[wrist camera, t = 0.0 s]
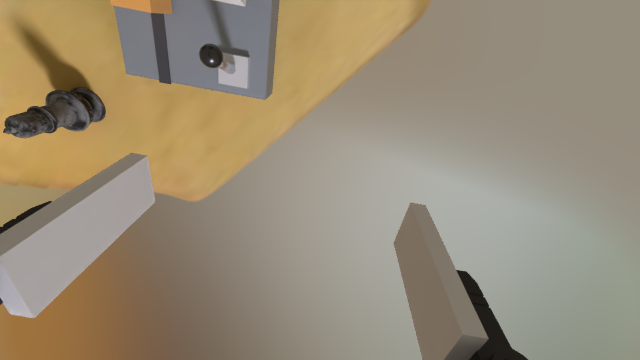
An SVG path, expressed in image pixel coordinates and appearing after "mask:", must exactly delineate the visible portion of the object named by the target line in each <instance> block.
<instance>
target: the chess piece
mask: <svg viewBox="0 0 640 360" xmlns="http://www.w3.org/2000/svg"><path fill="white" fill-rule="evenodd" d="M105 113H106V111H105V106H104V104H103V102H102V101H101V99H100V98H99V97H98V96H97V95H96V94H95V93H94V92H92V91H90V90H89V89H86V88H81V87H78V88H74V89H73V90H72V91H71V92H67V91H62V90H55V91H52V92H50V93H49V94H48V95H47V97H46V106H42V107H38V106H32V107H30V108H28V110H27V112H23V113H20V114H16V115H13V116H9V117H8V118H6V120H5V127H6V128H5V129H4V131H3V133H7V134H10V133H11V134H13V135H14V136H16V137H19V138H30V137H33V136H35V135H38V134H41V133H44V132H45V133H53V132H55V131H56V129H57V128H59V127H64V128H66V129H68V130H71V131H83V130H85V129H86V128H87V127H88V126H89V124H90V123H91V122H99V121H101V120H102V119H103V118H104V117H105Z"/></svg>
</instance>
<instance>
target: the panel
mask: <svg viewBox="0 0 640 360" xmlns="http://www.w3.org/2000/svg"><path fill="white" fill-rule="evenodd" d="M171 2H172V13H173V14H161V13H149V12H144V11H139V10H134V9H129V8H123V7H118V6H114V8H115V13H116V19H117V24H118V30H119V35H120V41H121V46H122V51H123V57H124V62H125V68H126V73H127V74H130V75H135V76H140V77H146V78H151V79H156V80H159V82H162V83H167V84H171V82H172V83H178V84H183V85H188V86H194V87H199V88H204V89H210V90H215V91H221V92H226V93H231V94H237V95H242V96H247V97H253V98H258V99H263V100H266V99H267V98H268V97H269V96H270V95H271V94H272V87H273V74H274V61H275V48H276V35H277V22H278V9H279V0H246V5H245V6H240V5H234V4H229V3H224V2H219V1H214V0H171ZM205 44H214V45H216V46H218V47H219V48H220V49H221V51H222V53H223V57H224V58H225V59H226V60H227V61H229V62H230V63H231V64H233V65H234V66H235V69H236V71H235V73H234V74H228V73H226V72H225V71H223V70H221V69H220V68H218V67H217V68H209V67H207V66H205V65H204V64H203V63H202V62H201V60H200V57H199V51H200V49H201V47H202V46H203V45H205Z"/></svg>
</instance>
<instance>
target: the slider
mask: <svg viewBox="0 0 640 360" xmlns="http://www.w3.org/2000/svg"><path fill="white" fill-rule="evenodd" d="M110 2H111V5H113V6H118V7H123V8H129V9H134V10H139V11H144V12H149V13H161V14H173V13H172V2H171V0H110Z"/></svg>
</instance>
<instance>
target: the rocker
mask: <svg viewBox="0 0 640 360" xmlns="http://www.w3.org/2000/svg"><path fill="white" fill-rule="evenodd" d="M214 1H219V2H224V3H229V4H234V5H240V6H245V5H246V0H214Z"/></svg>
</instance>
